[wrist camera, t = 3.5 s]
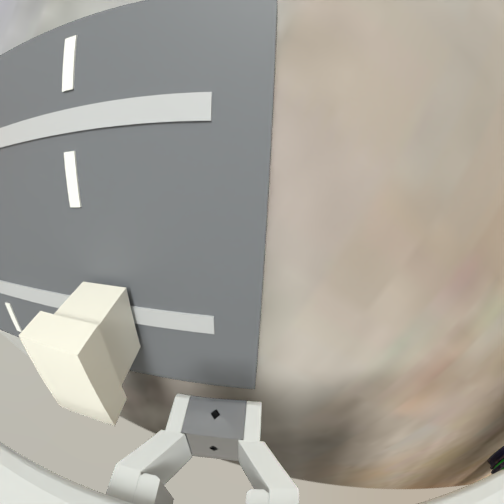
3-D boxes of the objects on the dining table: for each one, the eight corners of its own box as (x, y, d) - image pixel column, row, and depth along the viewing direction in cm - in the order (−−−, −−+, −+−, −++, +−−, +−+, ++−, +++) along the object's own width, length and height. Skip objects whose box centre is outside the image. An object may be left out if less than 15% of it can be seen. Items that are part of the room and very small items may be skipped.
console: (277, 4, 8) (277, -11, 7) (256, 369, 16) (254, 390, 15) (-37, 88, 9) (-54, 91, 8) (8, 317, 17) (-3, 329, 16)
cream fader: (130, 280, 12) (77, 355, 8) (147, 353, 14) (115, 426, 10) (76, 273, 12) (18, 335, 8) (98, 343, 14) (60, 406, 10)
